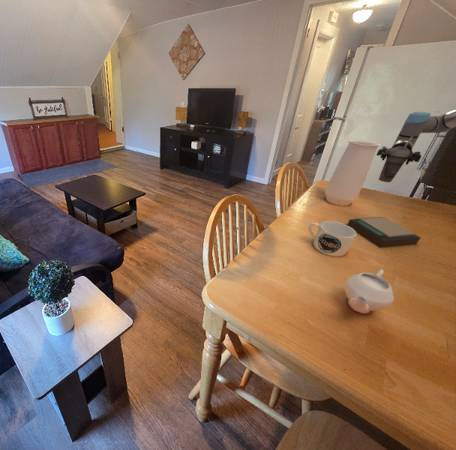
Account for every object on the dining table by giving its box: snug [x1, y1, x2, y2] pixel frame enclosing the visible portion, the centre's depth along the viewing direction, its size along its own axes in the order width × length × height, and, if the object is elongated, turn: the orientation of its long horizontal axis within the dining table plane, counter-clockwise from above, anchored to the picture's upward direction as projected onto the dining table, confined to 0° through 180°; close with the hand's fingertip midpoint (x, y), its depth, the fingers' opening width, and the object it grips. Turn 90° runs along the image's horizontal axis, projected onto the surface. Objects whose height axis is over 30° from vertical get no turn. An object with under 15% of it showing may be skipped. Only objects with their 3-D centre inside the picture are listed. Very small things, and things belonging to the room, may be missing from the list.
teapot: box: [344, 268, 395, 314], centre depth 63 cm, size 10×20×9 cm, turn 129°
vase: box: [324, 138, 382, 207], centre depth 111 cm, size 13×13×28 cm
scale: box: [346, 216, 421, 249], centre depth 93 cm, size 15×15×4 cm
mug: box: [308, 220, 358, 257], centre depth 85 cm, size 13×10×8 cm
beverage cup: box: [378, 136, 413, 183], centre depth 108 cm, size 7×7×20 cm
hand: (396, 159), depth 104 cm, fingers closed on beverage cup, 7 cm apart
